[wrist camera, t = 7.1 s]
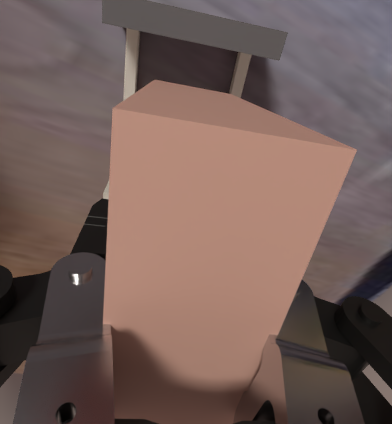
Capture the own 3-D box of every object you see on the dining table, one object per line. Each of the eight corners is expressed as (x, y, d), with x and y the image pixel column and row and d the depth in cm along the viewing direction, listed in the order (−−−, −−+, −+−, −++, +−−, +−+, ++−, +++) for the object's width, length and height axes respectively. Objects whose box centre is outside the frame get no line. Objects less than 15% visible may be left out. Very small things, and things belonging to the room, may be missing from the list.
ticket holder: (120, -3, 19) (102, -10, 14) (263, 30, 20) (287, 32, 16) (115, 179, 26) (101, 213, 22) (219, 193, 28) (227, 228, 23)
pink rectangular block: (154, 79, 13) (113, 108, 4) (231, 94, 13) (356, 149, 4) (138, 233, 16) (97, 440, 7) (199, 240, 17) (232, 442, 8)
